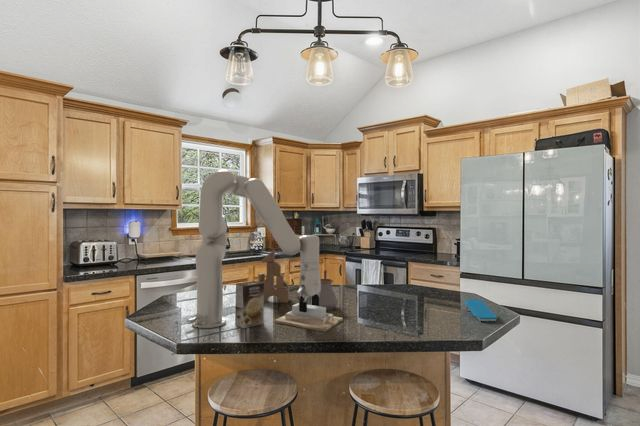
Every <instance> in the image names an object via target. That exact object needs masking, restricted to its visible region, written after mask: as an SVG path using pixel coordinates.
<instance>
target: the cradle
mask: <svg viewBox="0 0 640 426" xmlns="http://www.w3.org/2000/svg"><path fill="white" fill-rule="evenodd" d="M341 322H343V317H340V316H334V314H333V313H328V312H326V317H324V318H323V319H319V318H313V317H307V316H301V315H295V314H292V310H290V311H288V312H286V313H284V315H283V316H280V317H278V318H276V319H274V323H275V324H281V325H285V326H286V325H287V326H291V327H297V328H302V329H308V330H313V331H318V332H326V331H327V330H329V329H331V328H333V327H335V326H336V325H338V324H339V323H341Z"/></svg>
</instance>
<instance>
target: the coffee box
mask: <svg viewBox="0 0 640 426" xmlns="http://www.w3.org/2000/svg"><path fill="white" fill-rule="evenodd" d="M264 303H265V302H264V283H262V282H258V280H254V281H253V280H252V281H246V282H245V281H244V282H238V283H235V309H234V310H235V312H234V316H235V318H234V321H235V322H234V324H235V326H237V327H239V328H241V329H247V328H252V327H257V326H261V325H263V324H264V308H265V307H264V305H265V304H264Z"/></svg>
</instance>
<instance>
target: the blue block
mask: <svg viewBox="0 0 640 426" xmlns="http://www.w3.org/2000/svg"><path fill="white" fill-rule="evenodd" d="M464 303H465V304H464V305H465V309H466V308H467V309H469V310H470V311H469V312H470V313H471V314H472V315H473V316H474V317H475V316H476V317H478V318H480V319H497V320H498V317H497V315H496V314H495V313H494V312H493V311H492V310H491V309H490V308H489V306H488V305H487V304H486V303H485V302H484V301H483V300H482V299H465V301H464ZM476 317H475V318H476Z"/></svg>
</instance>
